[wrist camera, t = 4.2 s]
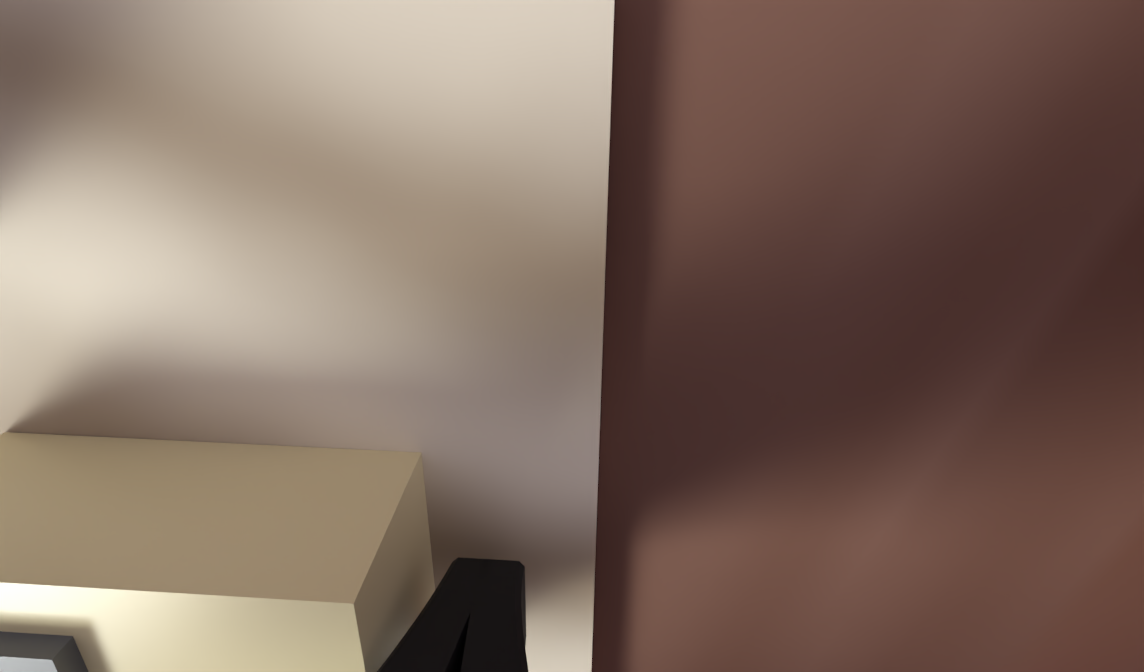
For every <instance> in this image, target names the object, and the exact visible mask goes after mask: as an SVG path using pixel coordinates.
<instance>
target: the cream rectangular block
mask: <svg viewBox="0 0 1144 672" xmlns="http://www.w3.org/2000/svg"><path fill="white" fill-rule="evenodd" d="M434 591H435V583H434V573H433V563H432V553H431V543H430V533H429V523H428V513H427V503H426V493H425V483H424V474H423V464H422V454H421V452H401V451H381V450H360V449H340V448H319V447H299V446H278V445H258V444H237V443H217V442H197V441H176V440H156V439H135V438H115V437H94V436H74V435H53V434H33V433H12V432H4V433H3V434H1V435H0V672H377V671H378V669H379V668H380V667H381V666H382V664H383V663H384V662H385V661H386V659H387V658H388V657H389V655H390V654H391V653H392V651H393V650H394V649H395V647H396V646H397V645H398V643H399V642H400V640H401V639H402V638H403V636H404V635H405V634H406V632H407V631H408V629H409V628H410V627H411V625H412V624H413V623H414V621H415V620H416V618H417V617H418V615H419V614H420V612H421V611H422V609H423V608H424V606H425V605H426V603H427V602H428V601H429V599H430V597H431V596H432V594H433V593H434Z"/></svg>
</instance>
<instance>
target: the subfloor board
mask: <svg viewBox="0 0 1144 672" xmlns="http://www.w3.org/2000/svg"><path fill="white" fill-rule="evenodd" d="M614 5H615V0H0V435H1V434H3V433H4V432H12V433H33V434H53V435H74V436H94V437H115V438H135V439H156V440H176V441H197V442H217V443H237V444H258V445H278V446H299V447H319V448H340V449H360V450H381V451H401V452H421V454H422V464H423V474H424V483H425V493H426V503H427V513H428V523H429V533H430V543H431V553H432V563H433V573H434V583H435V590H436V588H437V587H438V585H439V583H440V582H441V580H442V578H443V577H444V575H445V573H446V572H447V570H448V568H449V567H450V565H451V563H452V562H453V561H454V560H455V559H457V558H458V557H460V558H477V559H495V560H512V561H520V562H521V563H522V564H523V565H524V566H525V599H526V645H525V650H526V657H527V665H528V671H529V672H592V644H593V615H594V586H595V557H596V528H597V499H598V470H599V440H600V411H601V382H602V353H603V324H604V295H605V266H606V237H607V208H608V179H609V150H610V121H611V92H612V63H613V34H614Z"/></svg>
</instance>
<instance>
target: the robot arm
mask: <svg viewBox="0 0 1144 672" xmlns="http://www.w3.org/2000/svg"><path fill="white" fill-rule="evenodd" d="M525 645H526V599H525V566H524V565H523V564H522V563H521V562H520V561H512V560H495V559H477V558H460V557H458V558H457V559H455V560H454V561H453V562H452V563H451V565H450V567H449V568H448V570H447V572H446V573H445V575H444V577H443V578H442V580H441V582H440V583H439V585H438V587H437V588H436V590H435V591H434V593H433V594H432V596H431V597H430V599H429V601H428V602H427V603H426V605H425V606H424V608H423V609H422V611H421V612H420V614H419V615H418V617H417V618H416V620H415V621H414V623H413V624H412V625H411V627H410V628H409V629H408V631H407V632H406V634H405V635H404V636H403V638H402V639H401V640H400V642H399V643H398V645H397V646H396V647H395V649H394V650H393V651H392V653H391V654H390V655H389V657H388V658H387V659H386V661H385V662H384V663H383V664H382V666H381V667H380V668H379V669H378V671H377V672H529V671H528V665H527V657H526V650H525Z"/></svg>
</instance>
